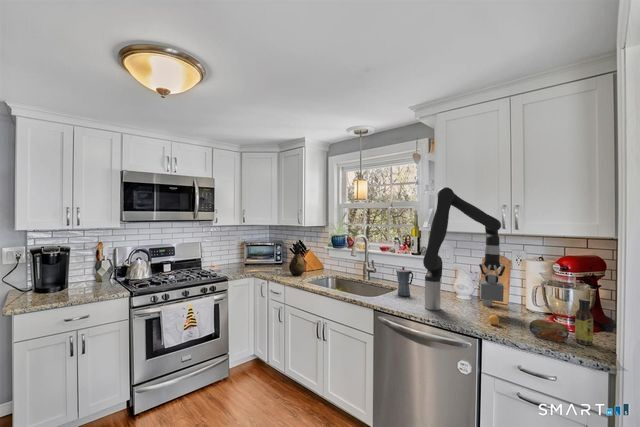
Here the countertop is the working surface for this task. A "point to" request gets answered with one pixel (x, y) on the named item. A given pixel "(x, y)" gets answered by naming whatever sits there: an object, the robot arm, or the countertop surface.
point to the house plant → (486, 302)
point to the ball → (493, 319)
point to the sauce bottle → (584, 323)
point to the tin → (549, 330)
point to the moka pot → (404, 282)
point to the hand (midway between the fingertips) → (491, 282)
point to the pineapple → (297, 262)
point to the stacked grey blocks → (491, 289)
